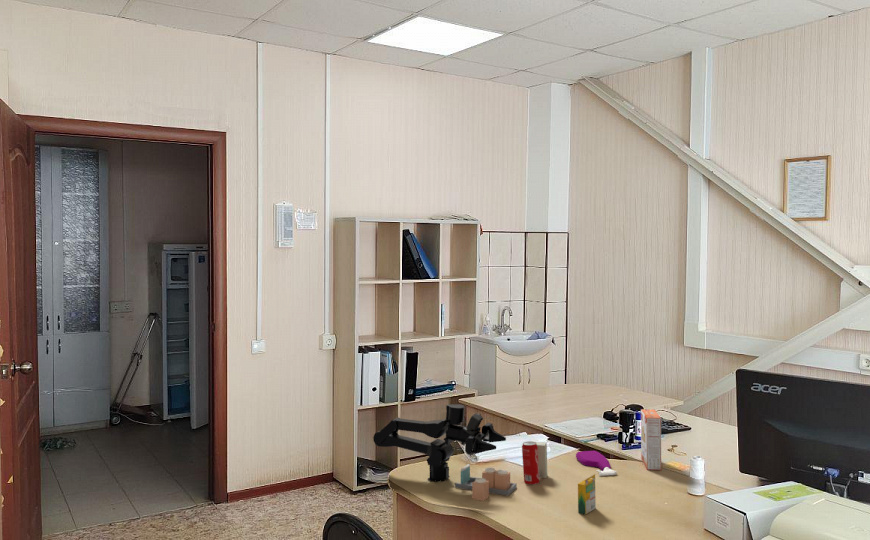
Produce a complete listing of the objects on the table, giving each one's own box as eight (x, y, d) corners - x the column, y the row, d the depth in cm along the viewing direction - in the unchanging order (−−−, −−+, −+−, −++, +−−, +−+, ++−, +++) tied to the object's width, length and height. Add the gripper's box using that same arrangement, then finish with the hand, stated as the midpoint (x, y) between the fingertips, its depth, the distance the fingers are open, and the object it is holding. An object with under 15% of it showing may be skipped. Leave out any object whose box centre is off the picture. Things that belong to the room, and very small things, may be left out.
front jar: (494, 491, 248) (494, 472, 247) (498, 487, 251) (498, 468, 251) (506, 492, 246) (506, 473, 245) (510, 488, 250) (510, 470, 249)
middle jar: (482, 489, 250) (482, 470, 249) (486, 485, 254) (486, 466, 253) (493, 490, 248) (493, 472, 247) (498, 487, 252) (497, 468, 251)
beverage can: (539, 486, 253) (539, 445, 253) (521, 485, 255) (521, 444, 254) (540, 480, 259) (540, 441, 259) (522, 479, 261) (522, 440, 260)
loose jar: (472, 500, 240) (472, 480, 240) (477, 495, 244) (477, 476, 244) (484, 502, 239) (484, 482, 238) (488, 497, 242) (488, 478, 242)
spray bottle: (598, 457, 289) (623, 477, 265) (573, 458, 288) (596, 478, 263) (598, 450, 289) (623, 469, 265) (573, 451, 287) (596, 471, 263)
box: (547, 475, 265) (547, 442, 265) (545, 479, 261) (545, 445, 260) (534, 474, 267) (533, 441, 266) (531, 478, 263) (531, 444, 262)
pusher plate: (460, 484, 252) (460, 468, 252) (467, 479, 258) (467, 463, 258) (463, 485, 252) (463, 469, 251) (470, 479, 257) (469, 464, 257)
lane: (455, 488, 252) (455, 483, 252) (464, 481, 260) (464, 475, 260) (508, 496, 243) (508, 491, 243) (516, 488, 251) (516, 483, 251)
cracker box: (640, 459, 284) (640, 408, 284) (655, 459, 284) (655, 409, 283) (645, 470, 271) (645, 417, 270) (661, 470, 270) (661, 417, 269)
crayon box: (587, 506, 234) (587, 472, 233) (596, 508, 232) (595, 474, 231) (577, 512, 228) (577, 477, 228) (585, 515, 226) (585, 479, 226)
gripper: (451, 421, 248) (492, 430, 241) (473, 406, 264) (511, 414, 257) (450, 450, 249) (490, 460, 242) (472, 434, 266) (510, 442, 259)
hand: (501, 443), depth 250 cm, fingers open, 9 cm apart
